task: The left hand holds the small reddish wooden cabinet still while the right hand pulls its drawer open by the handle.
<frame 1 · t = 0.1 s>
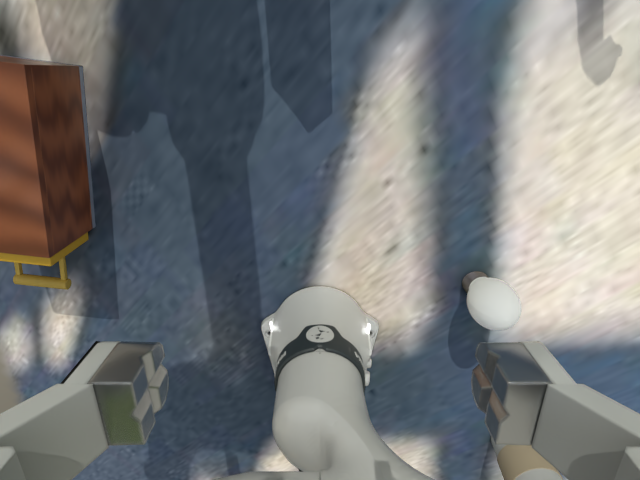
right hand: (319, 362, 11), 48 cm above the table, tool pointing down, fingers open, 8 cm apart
drawer: (29, 196, 53), point 6 cm above the table, slide at 0.5 cm
cabinet: (50, 147, 56), on the table
light bulb: (475, 280, 64), on the table
coffee cup: (509, 435, 76), on the table
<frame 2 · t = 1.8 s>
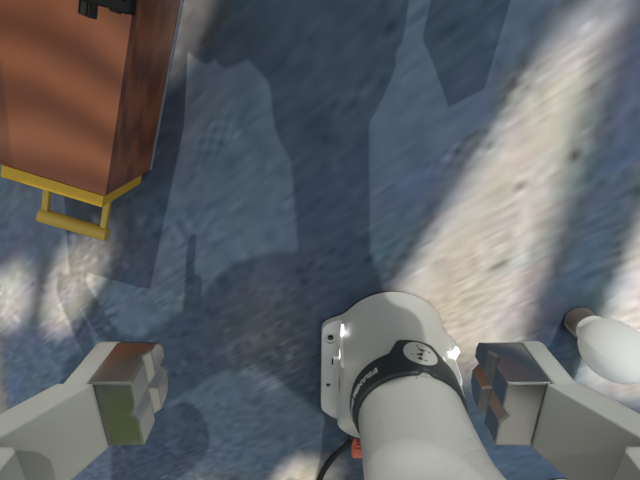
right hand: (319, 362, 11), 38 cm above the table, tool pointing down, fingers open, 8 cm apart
drawer: (86, 110, 40), point 6 cm above the table, slide at 0.5 cm
cabinet: (121, 55, 43), on the table
light bulb: (579, 318, 55), on the table
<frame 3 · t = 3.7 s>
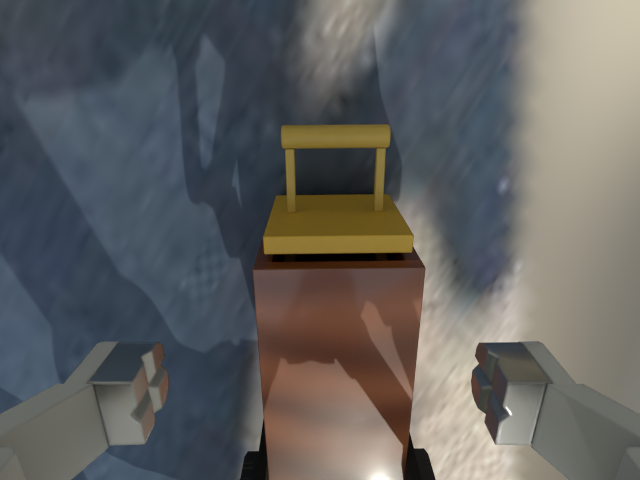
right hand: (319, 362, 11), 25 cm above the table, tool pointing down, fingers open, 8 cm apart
drawer: (334, 301, 32), point 6 cm above the table, slide at 0.5 cm
cabinet: (331, 320, 39), on the table, touching left hand
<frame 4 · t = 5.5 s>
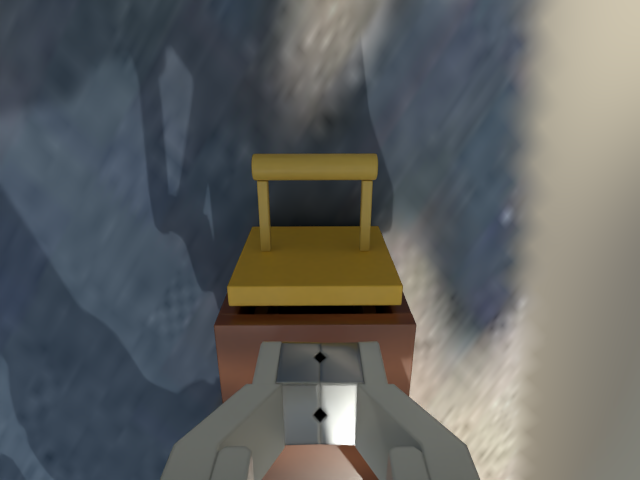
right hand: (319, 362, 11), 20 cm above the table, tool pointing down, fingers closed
drawer: (315, 348, 28), point 6 cm above the table, slide at 0.5 cm
cabinet: (316, 359, 35), on the table, touching left hand
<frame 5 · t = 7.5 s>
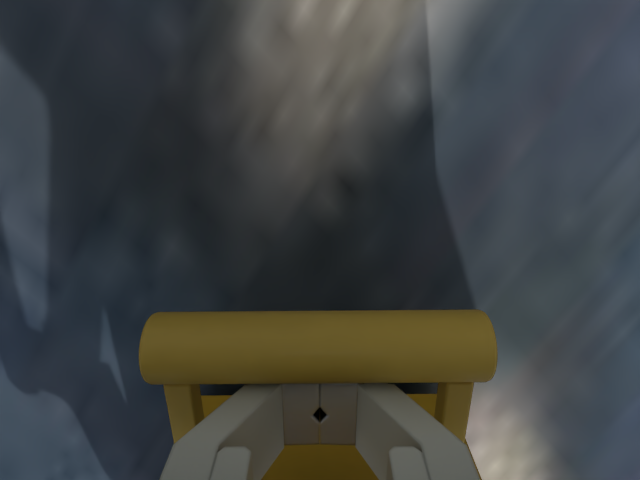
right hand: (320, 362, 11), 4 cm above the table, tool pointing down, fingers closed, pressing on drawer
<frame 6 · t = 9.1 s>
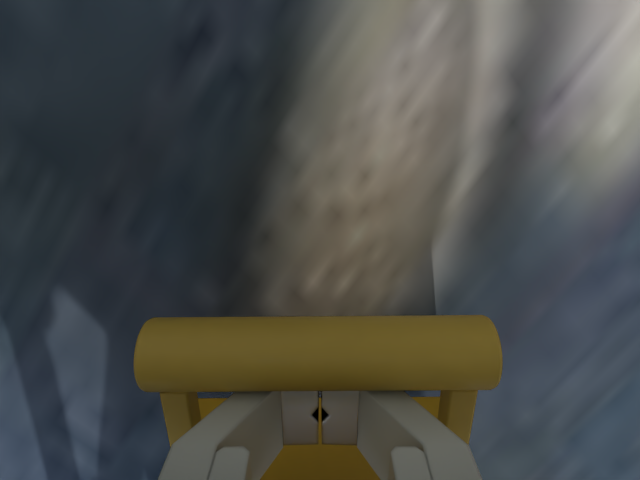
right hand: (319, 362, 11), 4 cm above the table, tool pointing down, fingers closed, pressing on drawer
when the left hand's fingers open (6 cm above the table, at t = 10.6 s): cabinet stays where it is, on the table.
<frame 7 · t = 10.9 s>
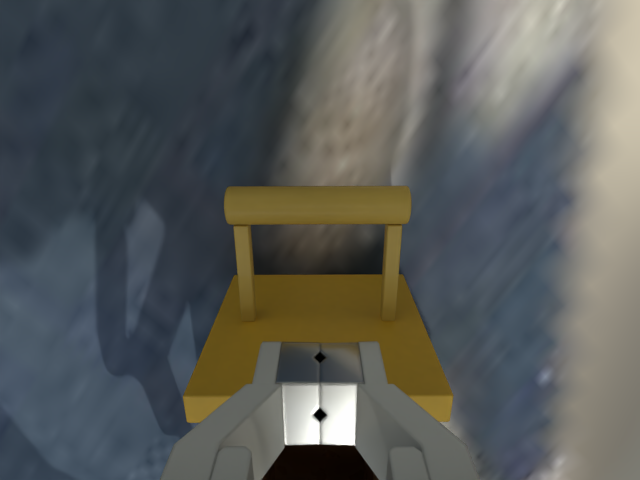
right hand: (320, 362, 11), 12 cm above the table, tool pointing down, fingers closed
drawer: (319, 444, 21), point 6 cm above the table, slide at 8.5 cm
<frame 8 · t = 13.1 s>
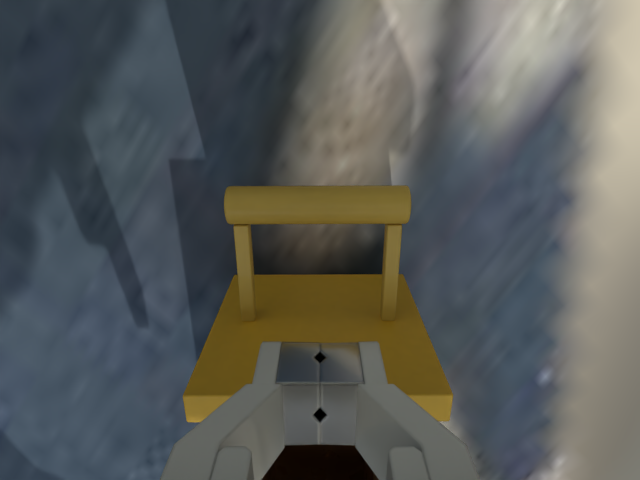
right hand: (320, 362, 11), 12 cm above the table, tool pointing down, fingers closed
drawer: (318, 443, 21), point 6 cm above the table, slide at 8.5 cm
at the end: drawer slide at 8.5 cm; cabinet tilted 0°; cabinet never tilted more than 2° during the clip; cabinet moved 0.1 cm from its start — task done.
